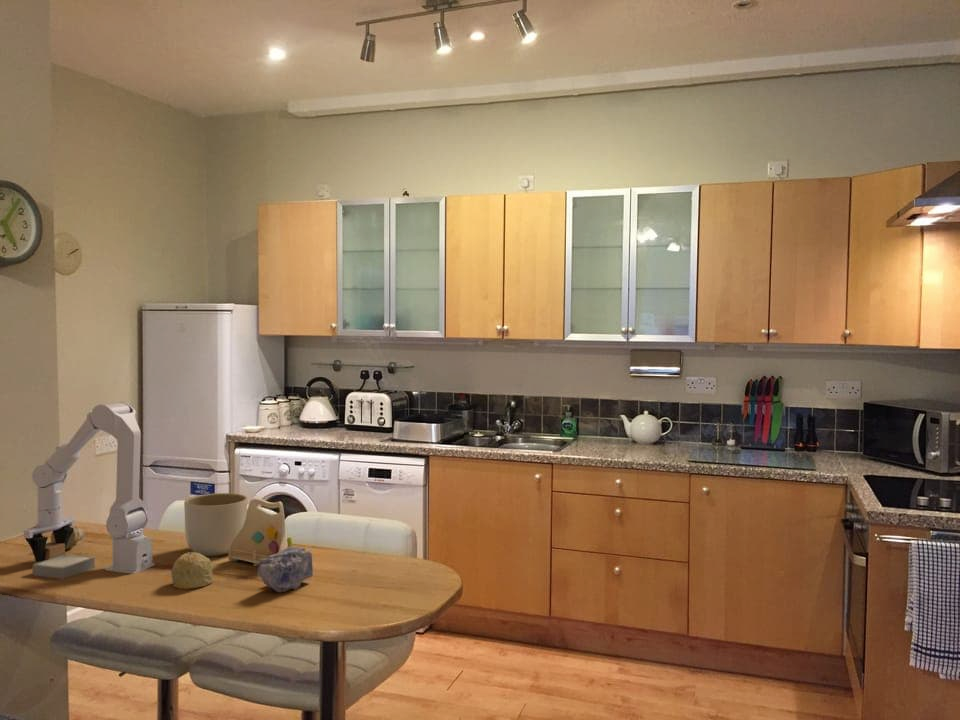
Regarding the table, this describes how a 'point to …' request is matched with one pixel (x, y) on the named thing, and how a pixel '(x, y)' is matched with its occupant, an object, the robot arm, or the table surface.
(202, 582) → the decorative object
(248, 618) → the table surface
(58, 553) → the walnut cube
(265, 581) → the mineral
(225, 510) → the planter
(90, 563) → the grey plinth
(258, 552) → the shape sorter
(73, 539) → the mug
